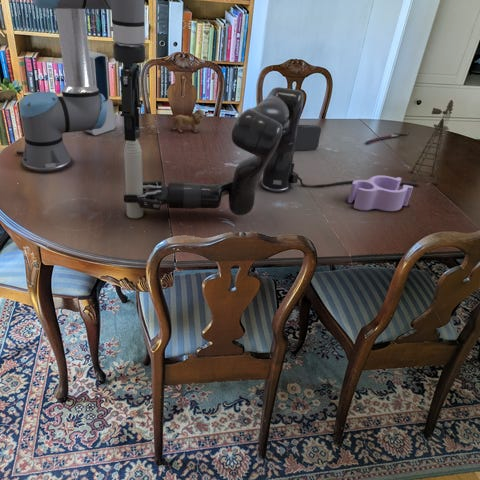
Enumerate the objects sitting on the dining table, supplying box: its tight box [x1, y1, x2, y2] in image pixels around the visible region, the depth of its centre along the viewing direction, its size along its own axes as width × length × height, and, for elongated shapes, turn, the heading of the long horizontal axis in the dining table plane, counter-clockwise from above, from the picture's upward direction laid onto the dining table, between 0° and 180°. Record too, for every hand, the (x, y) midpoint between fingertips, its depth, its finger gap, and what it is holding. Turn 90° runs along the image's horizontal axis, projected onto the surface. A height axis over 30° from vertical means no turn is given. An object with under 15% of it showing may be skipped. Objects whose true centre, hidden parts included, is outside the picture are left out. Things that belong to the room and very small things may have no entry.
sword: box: [365, 132, 410, 145], centre depth 213 cm, size 31×3×1 cm, turn 126°
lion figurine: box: [169, 108, 205, 133], centre depth 196 cm, size 15×5×9 cm, turn 110°
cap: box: [135, 126, 141, 139], centre depth 124 cm, size 4×4×2 cm
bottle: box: [123, 138, 144, 219], centre depth 130 cm, size 5×5×25 cm
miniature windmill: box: [410, 99, 454, 185], centre depth 171 cm, size 9×8×30 cm
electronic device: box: [83, 50, 116, 136], centre depth 182 cm, size 12×8×30 cm, turn 148°
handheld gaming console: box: [294, 124, 322, 151], centre depth 189 cm, size 23×3×10 cm, turn 108°
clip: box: [347, 175, 414, 212], centre depth 156 cm, size 20×12×7 cm, turn 109°
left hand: (132, 135), depth 124 cm, fingers open, 5 cm apart
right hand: (125, 194), depth 133 cm, fingers closed on bottle, 5 cm apart
